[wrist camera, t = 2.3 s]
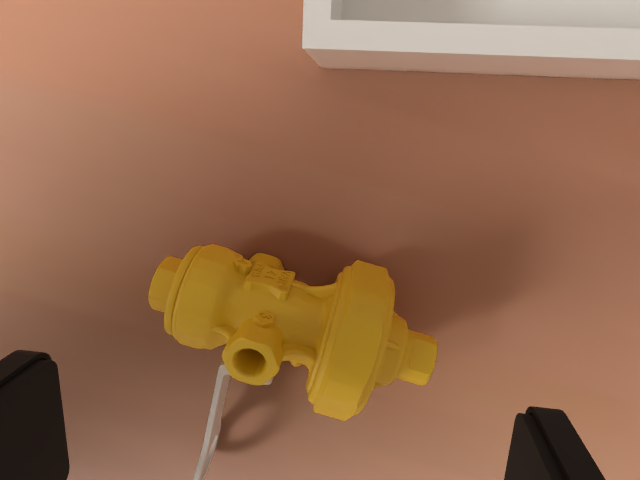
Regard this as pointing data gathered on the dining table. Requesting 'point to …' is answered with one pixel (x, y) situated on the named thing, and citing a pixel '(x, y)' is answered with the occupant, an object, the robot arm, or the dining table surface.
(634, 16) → the bin
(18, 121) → the dining table surface
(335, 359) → the pressure relief valve
